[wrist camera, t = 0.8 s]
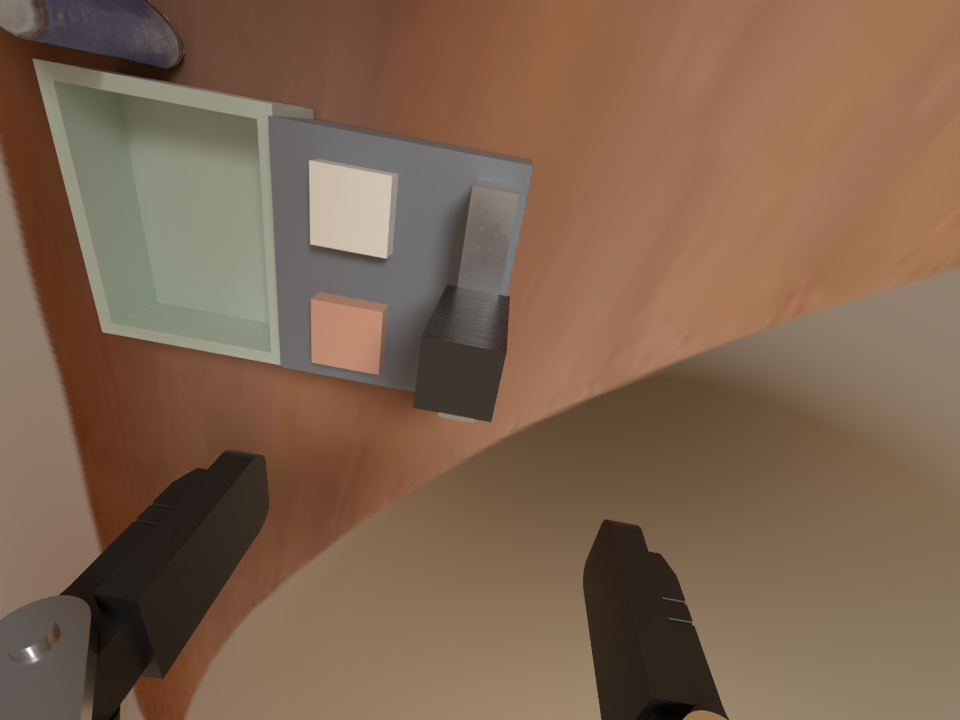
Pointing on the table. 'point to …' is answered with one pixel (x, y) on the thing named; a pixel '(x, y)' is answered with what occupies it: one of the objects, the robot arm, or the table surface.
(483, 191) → the scraper
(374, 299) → the grey slotted block
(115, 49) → the flask
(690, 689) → the robot arm
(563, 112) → the table surface
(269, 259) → the box
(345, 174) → the tile cream
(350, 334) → the tile terracotta
